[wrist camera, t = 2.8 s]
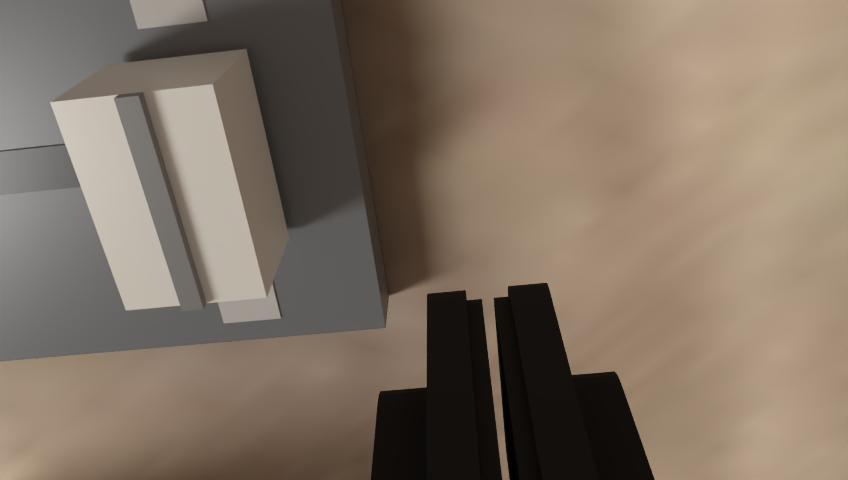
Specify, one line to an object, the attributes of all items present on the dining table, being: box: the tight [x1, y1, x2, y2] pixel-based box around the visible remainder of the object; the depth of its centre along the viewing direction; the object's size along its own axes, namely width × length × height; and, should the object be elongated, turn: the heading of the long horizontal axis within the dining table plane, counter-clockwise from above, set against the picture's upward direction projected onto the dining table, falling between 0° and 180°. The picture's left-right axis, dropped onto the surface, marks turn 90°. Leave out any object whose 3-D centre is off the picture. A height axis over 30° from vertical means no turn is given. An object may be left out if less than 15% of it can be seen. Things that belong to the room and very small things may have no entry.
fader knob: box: [50, 49, 289, 311], centre depth 20 cm, size 4×6×4 cm, turn 7°
